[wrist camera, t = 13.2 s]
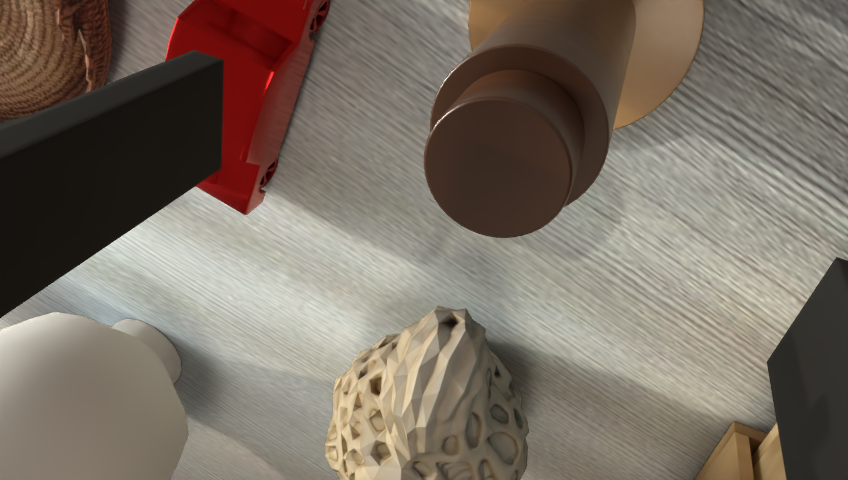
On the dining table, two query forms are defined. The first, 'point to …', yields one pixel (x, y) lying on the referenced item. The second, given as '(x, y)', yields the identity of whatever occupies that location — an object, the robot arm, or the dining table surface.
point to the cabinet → (733, 455)
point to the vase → (88, 401)
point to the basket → (51, 52)
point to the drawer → (769, 458)
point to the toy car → (251, 82)
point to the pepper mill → (529, 115)
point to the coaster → (650, 55)
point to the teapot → (428, 408)
